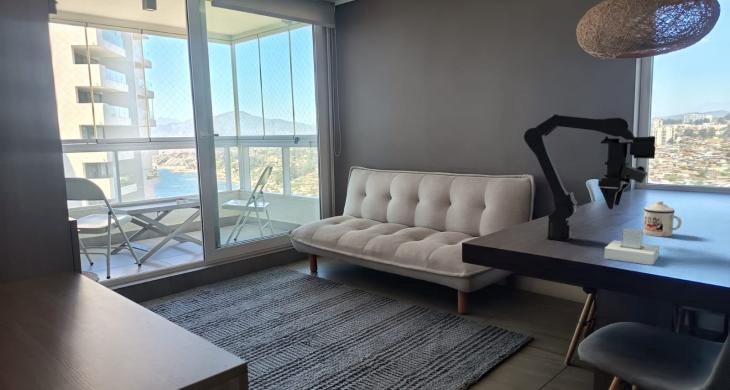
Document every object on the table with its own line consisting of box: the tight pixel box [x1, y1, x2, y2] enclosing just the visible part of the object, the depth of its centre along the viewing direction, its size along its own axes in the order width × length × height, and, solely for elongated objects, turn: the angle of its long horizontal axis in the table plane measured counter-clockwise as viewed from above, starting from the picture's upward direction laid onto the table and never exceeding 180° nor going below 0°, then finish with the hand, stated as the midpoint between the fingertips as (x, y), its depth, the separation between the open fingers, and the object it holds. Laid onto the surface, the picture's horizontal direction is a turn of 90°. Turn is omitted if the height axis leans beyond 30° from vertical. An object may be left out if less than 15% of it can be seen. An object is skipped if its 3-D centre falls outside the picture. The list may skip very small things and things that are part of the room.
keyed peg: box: [621, 227, 644, 250], centre depth 136 cm, size 3×5×8 cm
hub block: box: [603, 239, 660, 266], centre depth 136 cm, size 12×12×3 cm
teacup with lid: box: [643, 200, 683, 238], centre depth 163 cm, size 12×9×12 cm
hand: (613, 207), depth 151 cm, fingers open, 9 cm apart
